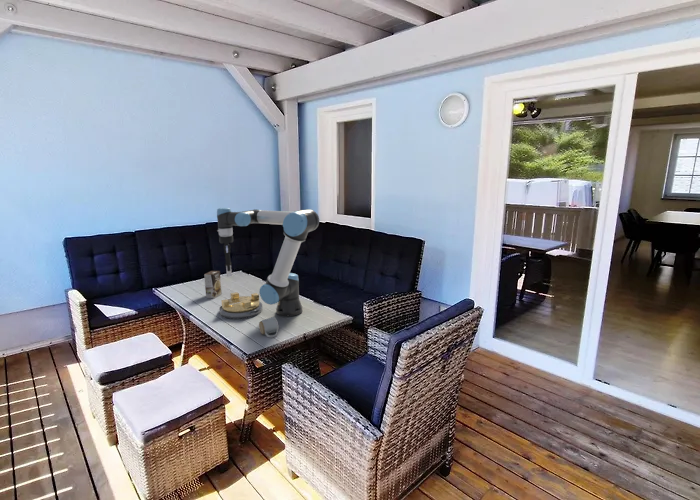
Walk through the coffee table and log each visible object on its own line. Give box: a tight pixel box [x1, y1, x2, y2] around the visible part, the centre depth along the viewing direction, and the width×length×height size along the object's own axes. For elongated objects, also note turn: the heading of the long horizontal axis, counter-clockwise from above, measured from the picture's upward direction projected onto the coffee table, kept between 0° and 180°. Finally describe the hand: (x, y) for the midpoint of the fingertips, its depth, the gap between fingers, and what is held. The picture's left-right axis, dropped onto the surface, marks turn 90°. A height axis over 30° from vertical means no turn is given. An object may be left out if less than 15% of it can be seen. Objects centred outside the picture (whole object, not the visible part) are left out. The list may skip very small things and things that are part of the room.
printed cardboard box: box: [203, 270, 223, 299], centre depth 239 cm, size 9×6×16 cm
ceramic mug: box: [258, 316, 279, 339], centre depth 185 cm, size 11×8×8 cm
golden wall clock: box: [220, 291, 260, 313], centre depth 214 cm, size 21×21×6 cm
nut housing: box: [218, 301, 263, 320], centre depth 215 cm, size 24×24×3 cm
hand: (229, 275), depth 211 cm, fingers closed
